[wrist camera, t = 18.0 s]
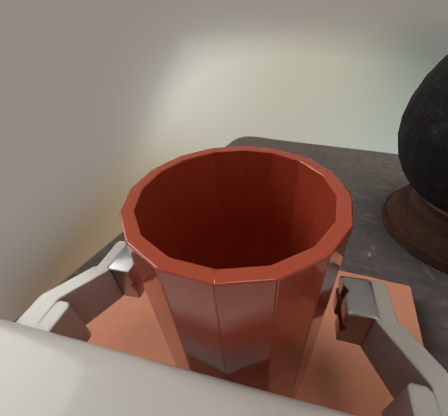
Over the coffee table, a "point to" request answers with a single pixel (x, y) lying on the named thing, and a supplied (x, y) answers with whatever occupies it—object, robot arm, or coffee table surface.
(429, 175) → the black ball on stand
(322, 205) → the terracotta cup
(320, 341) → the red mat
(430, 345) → the coffee table surface
